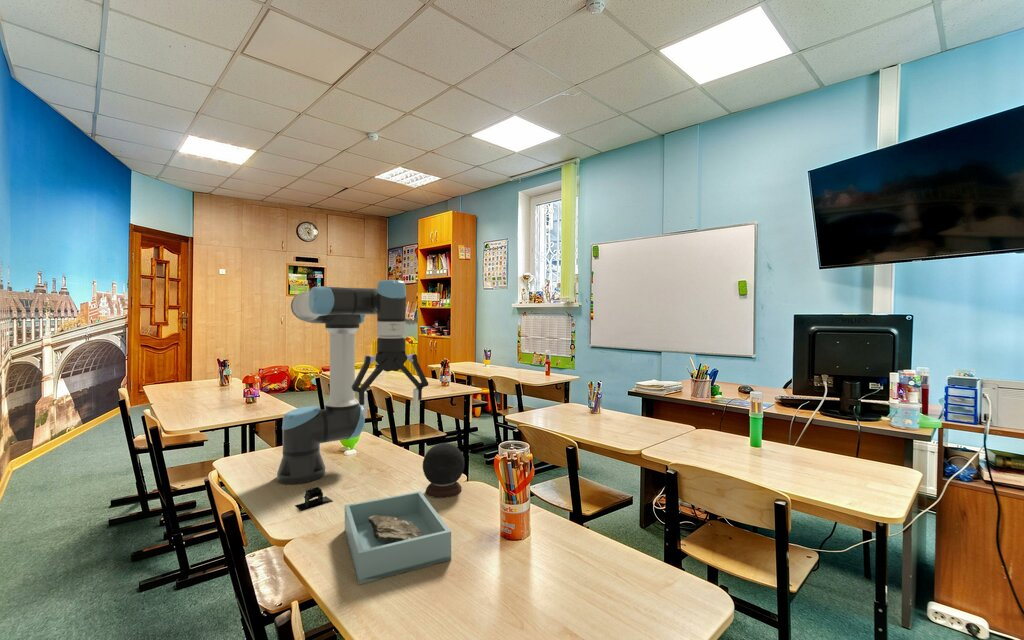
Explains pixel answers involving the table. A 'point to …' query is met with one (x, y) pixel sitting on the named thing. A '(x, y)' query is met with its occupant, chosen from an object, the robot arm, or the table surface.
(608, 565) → the table surface
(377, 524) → the rock
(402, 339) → the robot arm
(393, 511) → the storage tub
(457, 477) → the black globe on stand
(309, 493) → the build plate
